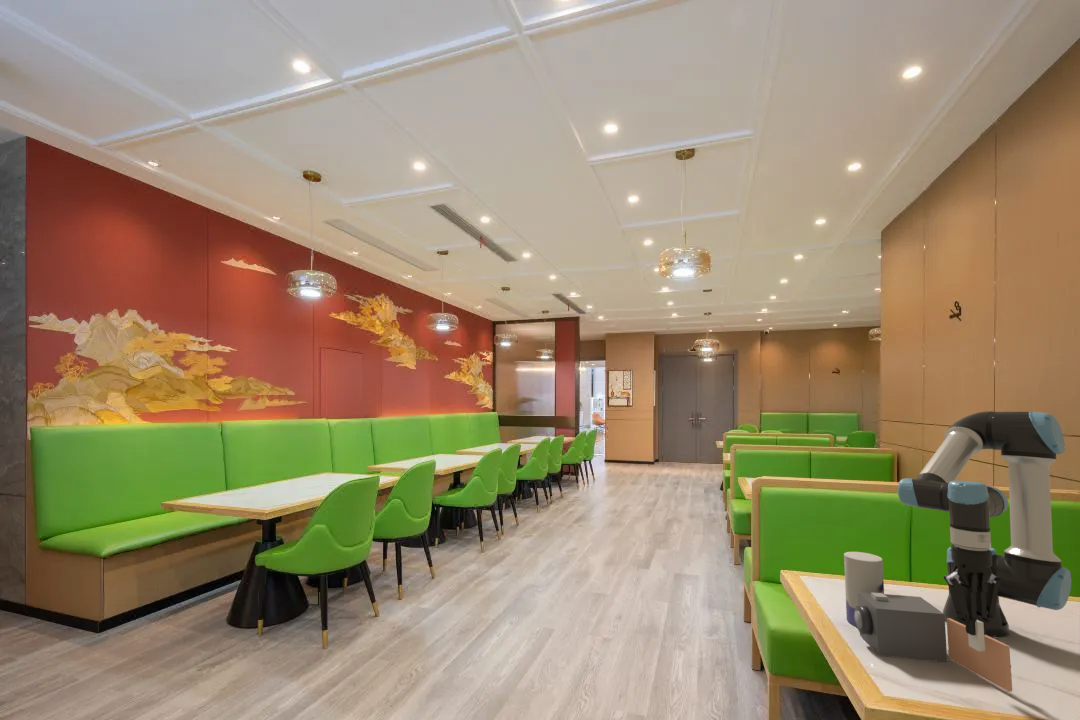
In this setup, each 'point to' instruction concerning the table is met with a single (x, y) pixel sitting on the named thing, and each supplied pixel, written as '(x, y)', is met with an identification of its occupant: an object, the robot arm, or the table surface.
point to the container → (861, 578)
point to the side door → (980, 655)
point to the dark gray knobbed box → (901, 626)
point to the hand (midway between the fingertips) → (976, 648)
